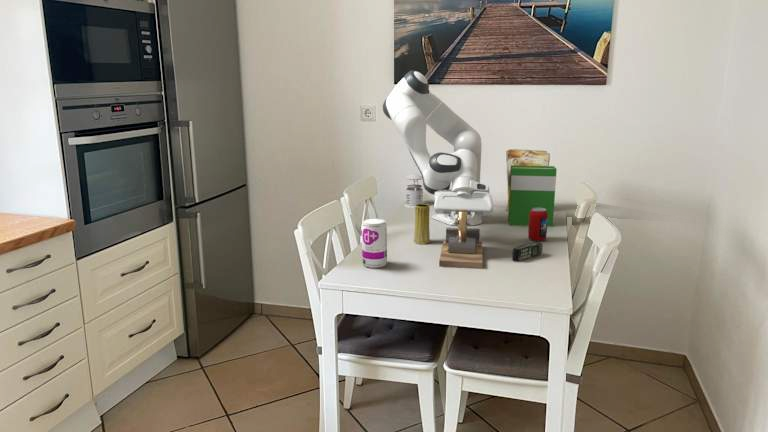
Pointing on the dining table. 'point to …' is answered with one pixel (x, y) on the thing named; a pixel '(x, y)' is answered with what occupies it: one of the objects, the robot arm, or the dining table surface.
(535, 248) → the mobile phone
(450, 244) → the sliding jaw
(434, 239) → the dining table surface
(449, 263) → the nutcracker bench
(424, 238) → the vase
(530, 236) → the beverage can
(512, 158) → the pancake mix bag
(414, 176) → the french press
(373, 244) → the supplement can
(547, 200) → the hardback book
